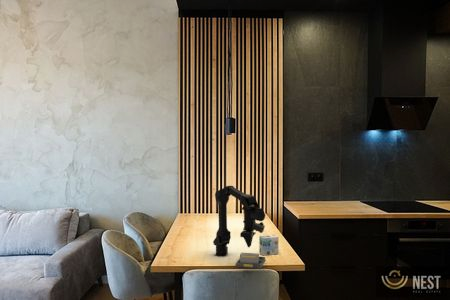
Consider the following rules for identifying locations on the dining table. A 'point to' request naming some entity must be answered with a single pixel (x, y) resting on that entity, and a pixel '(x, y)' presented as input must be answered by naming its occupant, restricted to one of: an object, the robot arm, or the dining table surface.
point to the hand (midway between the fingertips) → (249, 246)
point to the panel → (249, 258)
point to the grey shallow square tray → (261, 262)
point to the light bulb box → (268, 244)
